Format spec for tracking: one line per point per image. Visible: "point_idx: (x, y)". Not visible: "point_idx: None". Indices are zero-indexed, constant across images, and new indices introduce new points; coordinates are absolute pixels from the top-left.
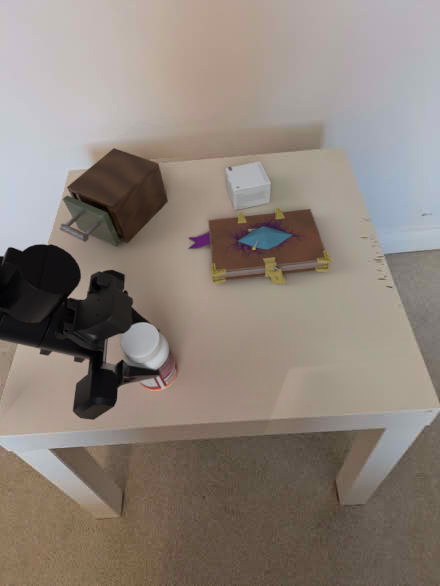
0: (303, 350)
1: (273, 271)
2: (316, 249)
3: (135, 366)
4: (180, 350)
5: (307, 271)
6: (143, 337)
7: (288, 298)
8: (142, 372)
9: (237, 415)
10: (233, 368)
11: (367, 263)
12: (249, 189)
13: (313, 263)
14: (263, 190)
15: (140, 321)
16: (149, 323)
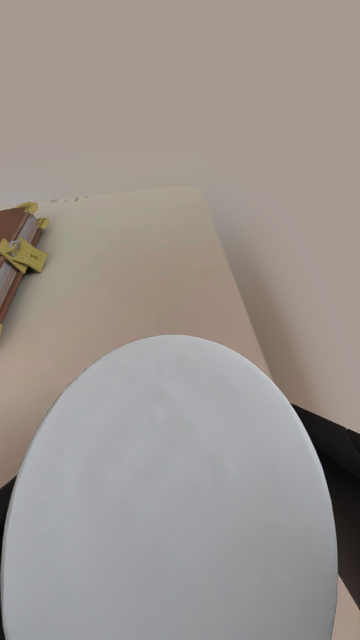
0: (147, 245)
1: (19, 250)
2: (9, 213)
3: (351, 468)
4: None
5: (39, 235)
6: (153, 436)
7: (72, 257)
8: (324, 426)
9: (239, 299)
10: (170, 308)
11: (54, 205)
12: None
13: (30, 222)
14: None
15: (6, 515)
16: (47, 413)
